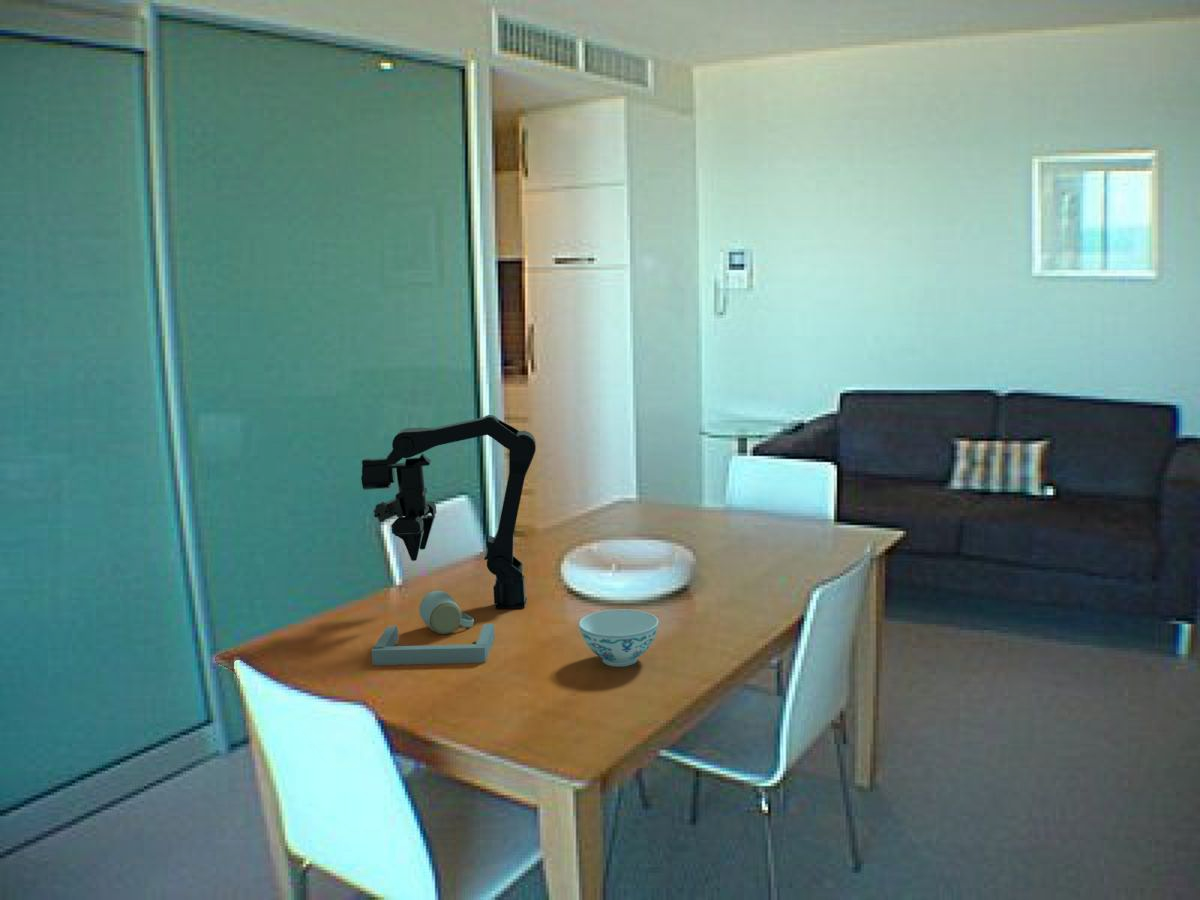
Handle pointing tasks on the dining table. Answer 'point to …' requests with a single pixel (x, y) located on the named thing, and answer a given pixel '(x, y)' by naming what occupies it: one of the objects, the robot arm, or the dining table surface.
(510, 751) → the dining table surface
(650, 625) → the chinaware
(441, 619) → the ceramic mug
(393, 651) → the mug dock
